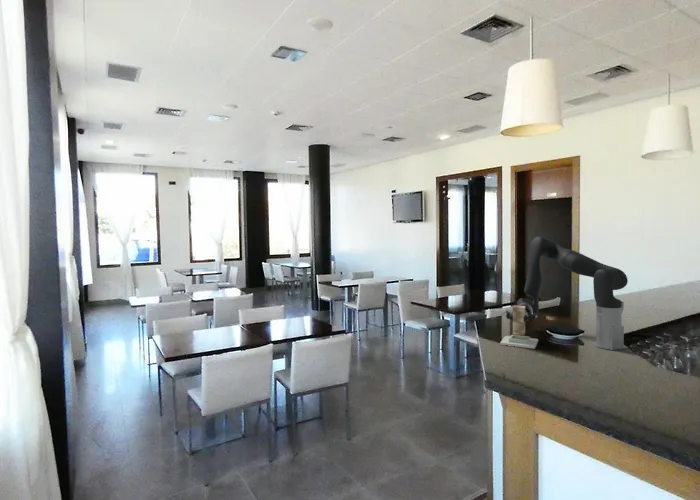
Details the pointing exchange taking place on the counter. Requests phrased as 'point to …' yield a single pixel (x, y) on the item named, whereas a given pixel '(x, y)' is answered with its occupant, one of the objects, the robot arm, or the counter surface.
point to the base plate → (519, 341)
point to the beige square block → (518, 320)
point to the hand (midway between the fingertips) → (518, 318)
